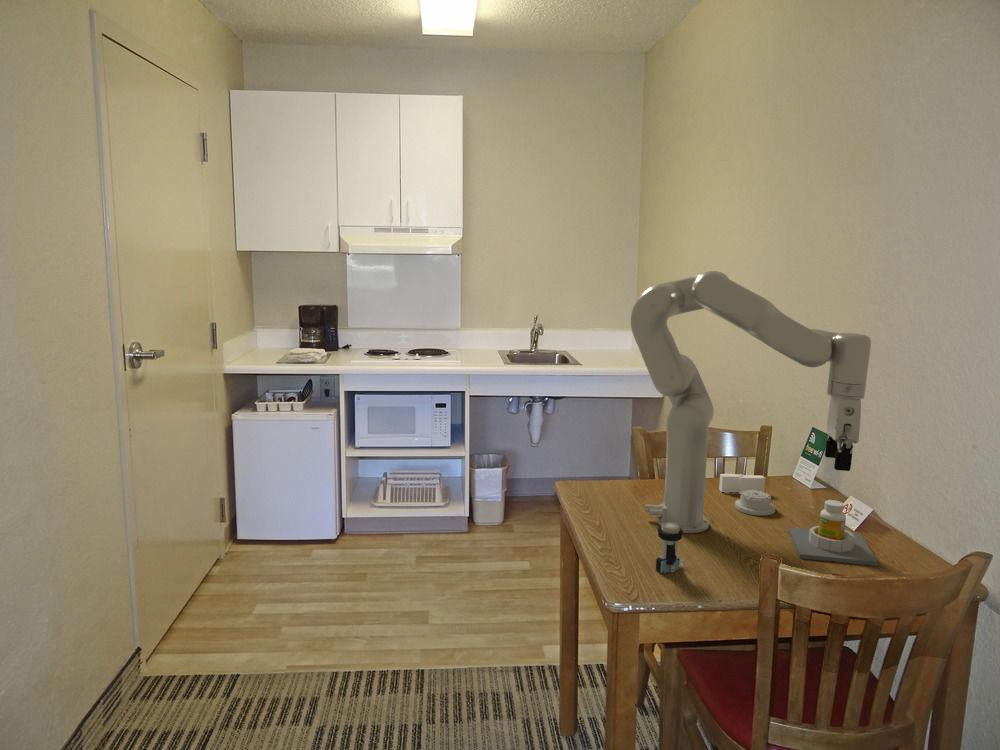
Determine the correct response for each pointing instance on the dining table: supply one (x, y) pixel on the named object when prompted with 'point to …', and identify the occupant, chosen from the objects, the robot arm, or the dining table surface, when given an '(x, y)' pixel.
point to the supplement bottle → (832, 520)
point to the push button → (669, 547)
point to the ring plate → (832, 547)
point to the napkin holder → (741, 483)
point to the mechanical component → (755, 503)
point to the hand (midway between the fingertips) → (836, 463)
